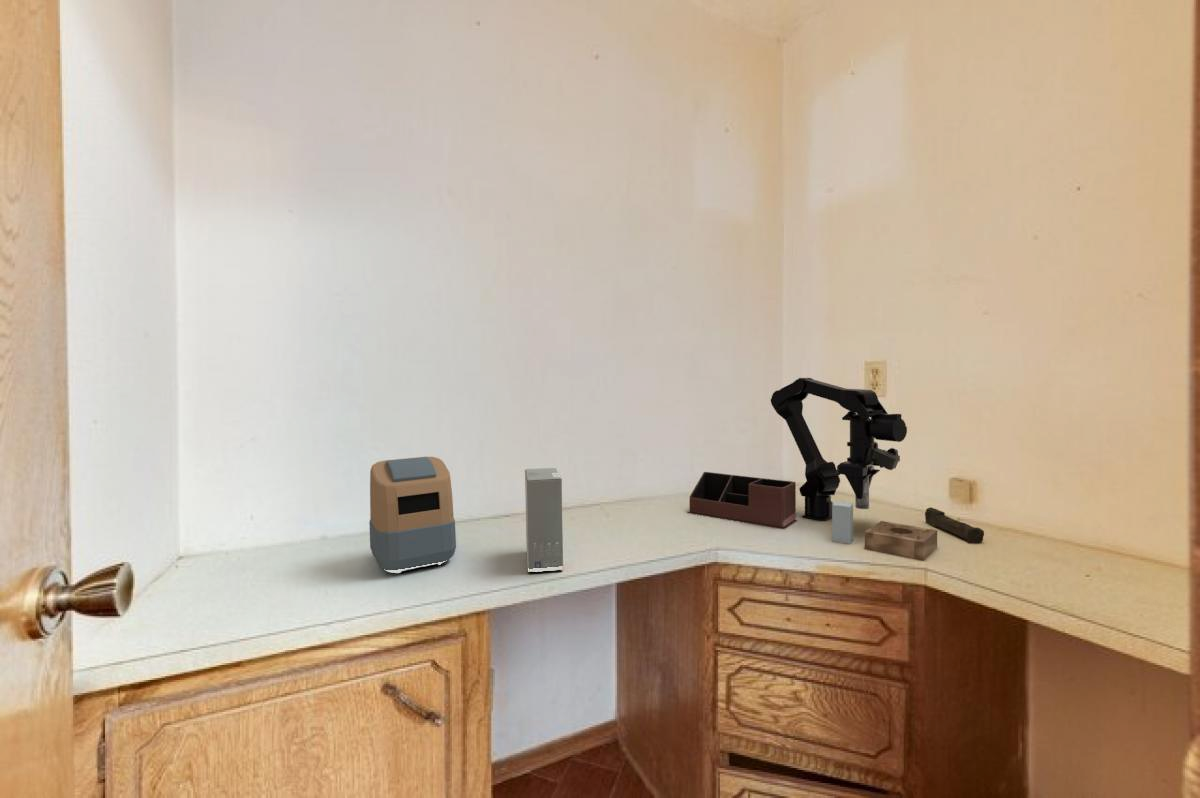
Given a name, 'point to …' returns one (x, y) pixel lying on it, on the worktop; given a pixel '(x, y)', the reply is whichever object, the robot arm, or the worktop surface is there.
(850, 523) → the gray rectangular block
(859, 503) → the cylinder
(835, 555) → the worktop surface
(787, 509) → the desk organizer
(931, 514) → the hand tool
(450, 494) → the alarm clock
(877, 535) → the bore block
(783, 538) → the worktop surface
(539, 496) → the hard drive box
